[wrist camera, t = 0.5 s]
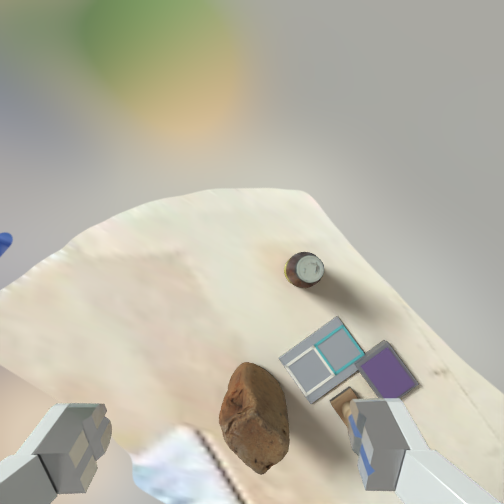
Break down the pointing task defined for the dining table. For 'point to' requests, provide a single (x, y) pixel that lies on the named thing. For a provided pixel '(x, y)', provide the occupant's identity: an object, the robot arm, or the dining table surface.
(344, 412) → the stamp
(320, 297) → the dining table surface
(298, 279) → the sauce bottle
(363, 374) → the ink pad
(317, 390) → the board
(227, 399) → the block
